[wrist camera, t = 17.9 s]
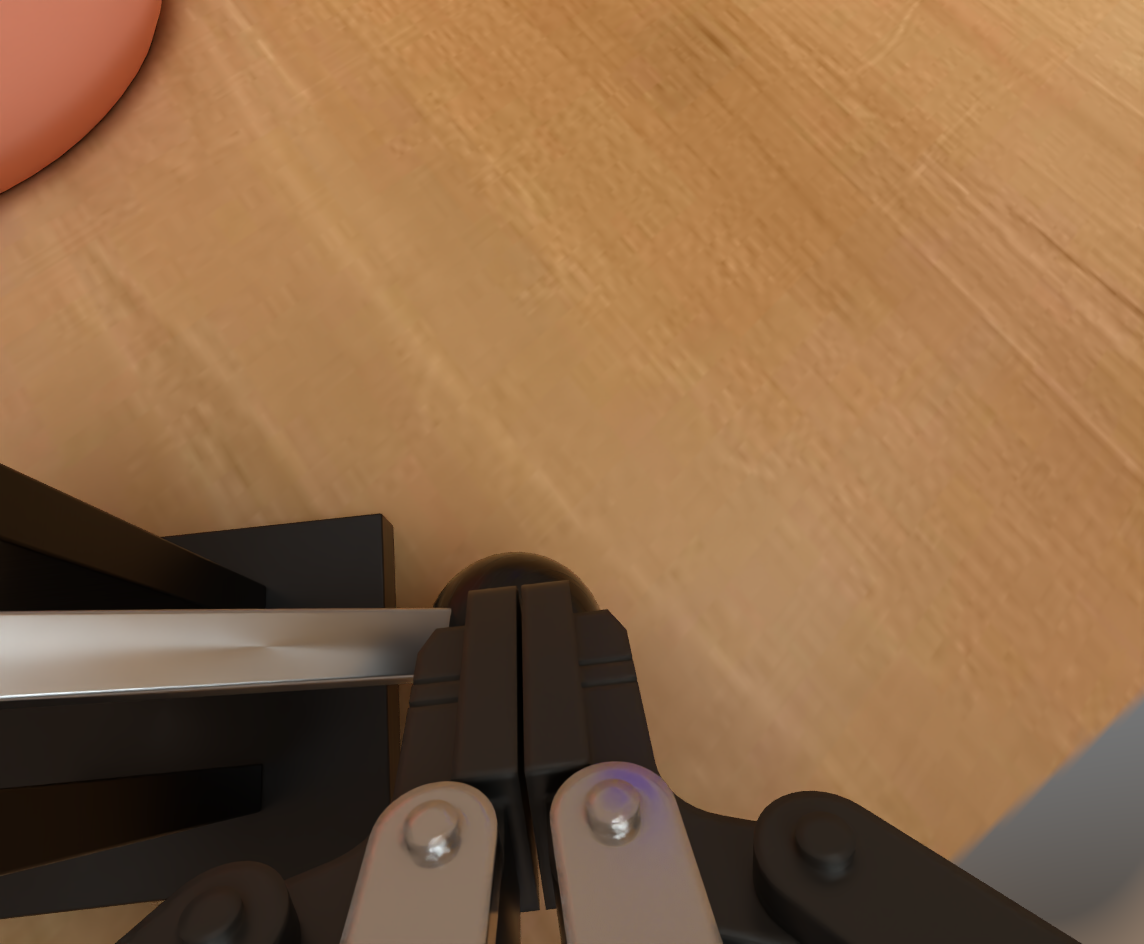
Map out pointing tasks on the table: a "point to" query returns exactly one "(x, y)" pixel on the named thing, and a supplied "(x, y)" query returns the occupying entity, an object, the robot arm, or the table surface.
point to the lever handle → (239, 644)
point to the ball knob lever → (185, 713)
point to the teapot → (63, 73)
